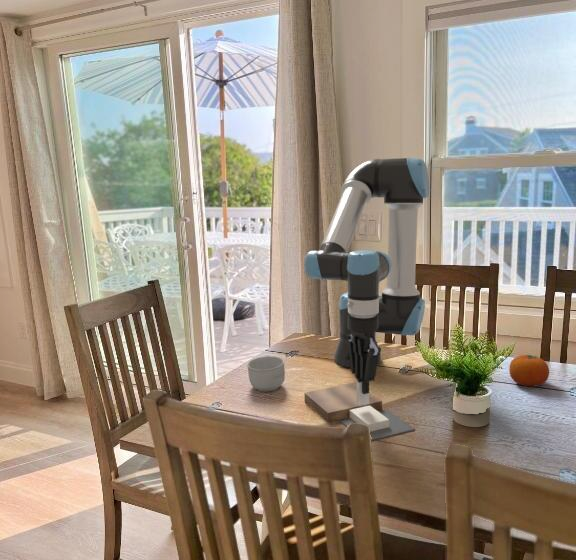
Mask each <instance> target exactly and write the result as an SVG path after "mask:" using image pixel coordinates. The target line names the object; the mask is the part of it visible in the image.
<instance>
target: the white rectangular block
mask: <svg viewBox="0 0 576 560" xmlns="http://www.w3.org/2000/svg"><path fill="white" fill-rule="evenodd" d="M349 418H351V419H352V420H354V421H355V422H356V423H360V424H363V425H367V426H368V427H369V429H370V432H371V431H375V430H379V429H384V428H388V427H389V419H388V418H386V417H385V416H384V415H382V414H381V413H379V411H377V410H375V409H374V408H373V407H371V406H365V407H361V408H356V409H352V410H350V417H349Z"/></svg>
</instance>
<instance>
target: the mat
mask: <svg viewBox="0 0 576 560" xmlns="http://www.w3.org/2000/svg"><path fill="white" fill-rule="evenodd" d="M378 412H379V413H381V414H382V415H384V416H385V417H386V418H388V419H389V427H388V428H384V429H379V430H375V431H371V432H370V435H371V437H372V439H371V441H370V442H373V441H375V440H376V441H377V440H380V439H383V438H388V437H393V436H397V435H401V434H405V433H408V432H412V431H415V430H416V429H415V428H414V427H413V426H412V425H410V424H409V423H407V422H406V421H404V419H402V418H400V417H399V416H397V415H396V414H394V413H393V412H392V411H391V410H389V409H382V410H379V411H378ZM339 421H340V423H342V424H343V425H344V426H345V427H346V426H347V425H349V424H350V423H356V422H355V421H354V420H352V419H351V418H350V417H349V418H344V419H340V420H339Z"/></svg>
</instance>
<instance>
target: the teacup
mask: <svg viewBox="0 0 576 560" xmlns="http://www.w3.org/2000/svg"><path fill="white" fill-rule="evenodd" d="M246 367H247V373H248V380H249V383H250V385H251V386H252V387H253V388H254V389H256V390H257V391H260V392H266V393H267V392H272V391H275V390H278V389H279V388H280V386H282V385H283V384H284V382H285V377H286V376H285V375H286V373H285V372H286V371H285V360H284V359H283V358H282V357H279V356H270V354H265V355H264V356H260V357H256V358H253V359H251V360H250V361H248V362H247V363H246Z"/></svg>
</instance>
